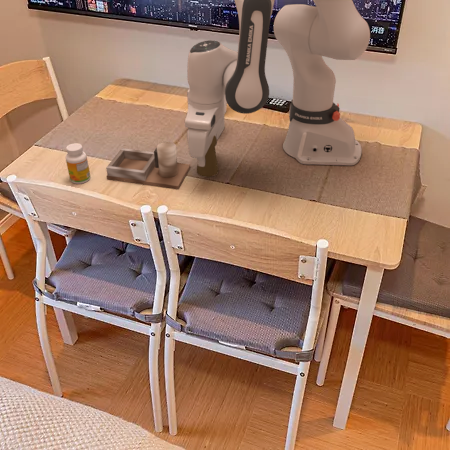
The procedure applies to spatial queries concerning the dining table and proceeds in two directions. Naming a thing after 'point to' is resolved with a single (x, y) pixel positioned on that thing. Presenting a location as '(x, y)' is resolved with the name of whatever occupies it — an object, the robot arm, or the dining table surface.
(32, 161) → the dining table surface
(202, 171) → the olive brown pawn
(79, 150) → the supplement bottle
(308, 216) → the dining table surface
